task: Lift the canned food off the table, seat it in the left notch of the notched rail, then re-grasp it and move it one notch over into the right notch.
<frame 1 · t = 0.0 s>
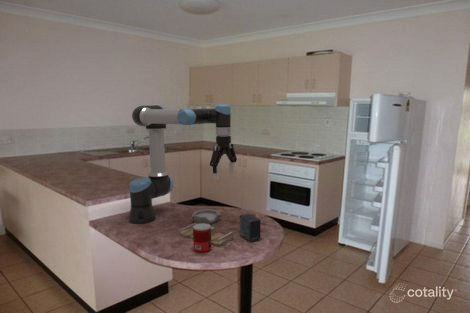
hand: (224, 177, 169), 28 cm above the counter, fingers open, 13 cm apart
dish: (205, 221, 187), on the counter
small box: (250, 238, 162), on the counter
notched rail: (206, 237, 163), on the counter
canned food: (202, 249, 149), on the counter
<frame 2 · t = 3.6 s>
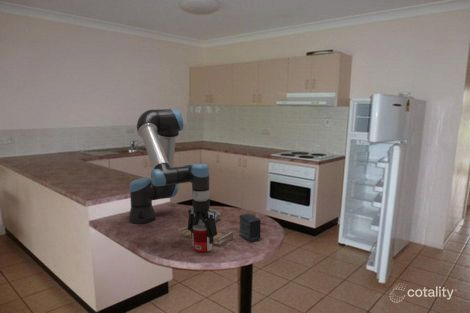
hand: (202, 247, 149), 1 cm above the counter, fingers closed on canned food, 8 cm apart
canned food: (202, 249, 149), on the counter, touching gripper
everything else where it was.
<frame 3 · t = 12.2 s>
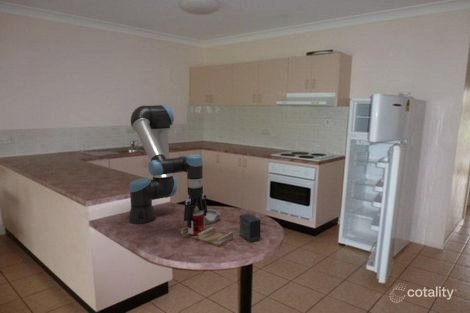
hand: (196, 230, 165), 2 cm above the counter, fingers closed on canned food, 8 cm apart
canned food: (196, 233, 166), point 1 cm above the counter, touching gripper, notched rail
everything else where it was.
when the fingers open (4 cm above the counter, at t = 17.1 s): canned food drops 1 cm, resting on notched rail.
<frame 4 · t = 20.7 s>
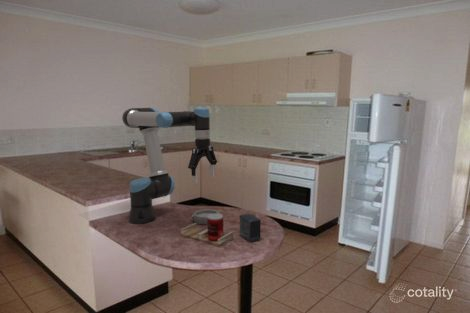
hand: (203, 179, 170), 27 cm above the counter, fingers open, 13 cm apart
canned food: (215, 238, 159), point 1 cm above the counter, touching notched rail
everything else where it was.
at the end: canned food inside the target area on the notched rail (0.1 cm from its centre), point 1.0 cm above the notched rail's base; canned food tilted 0°; the gripper is holding nothing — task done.
